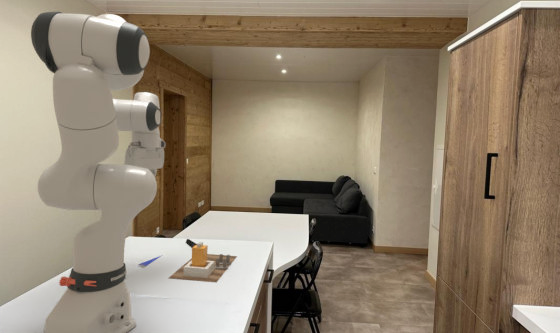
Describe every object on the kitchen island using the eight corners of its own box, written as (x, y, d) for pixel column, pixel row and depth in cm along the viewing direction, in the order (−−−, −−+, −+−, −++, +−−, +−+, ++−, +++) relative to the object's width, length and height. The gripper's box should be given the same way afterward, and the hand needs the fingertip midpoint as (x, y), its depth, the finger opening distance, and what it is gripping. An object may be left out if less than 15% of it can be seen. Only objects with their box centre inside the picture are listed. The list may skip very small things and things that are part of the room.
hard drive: (156, 267, 128) (179, 258, 140) (138, 263, 131) (161, 254, 143) (156, 271, 128) (178, 262, 140) (138, 268, 131) (161, 258, 143)
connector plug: (203, 275, 122) (203, 245, 121) (191, 274, 122) (192, 244, 122) (206, 271, 126) (207, 241, 125) (195, 270, 126) (196, 241, 126)
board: (216, 286, 116) (216, 271, 116) (167, 281, 118) (168, 267, 118) (236, 259, 144) (237, 247, 144) (197, 256, 146) (197, 244, 146)
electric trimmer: (192, 245, 163) (192, 238, 163) (205, 254, 150) (205, 246, 150) (183, 246, 161) (183, 238, 161) (196, 255, 148) (196, 247, 148)
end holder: (207, 278, 120) (207, 268, 120) (183, 276, 121) (183, 267, 120) (214, 269, 128) (214, 261, 127) (192, 268, 129) (192, 259, 128)
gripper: (138, 142, 112) (137, 187, 113) (167, 143, 133) (166, 181, 133) (119, 141, 113) (118, 186, 114) (151, 142, 133) (150, 180, 134)
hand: (144, 183), depth 124 cm, fingers open, 8 cm apart
